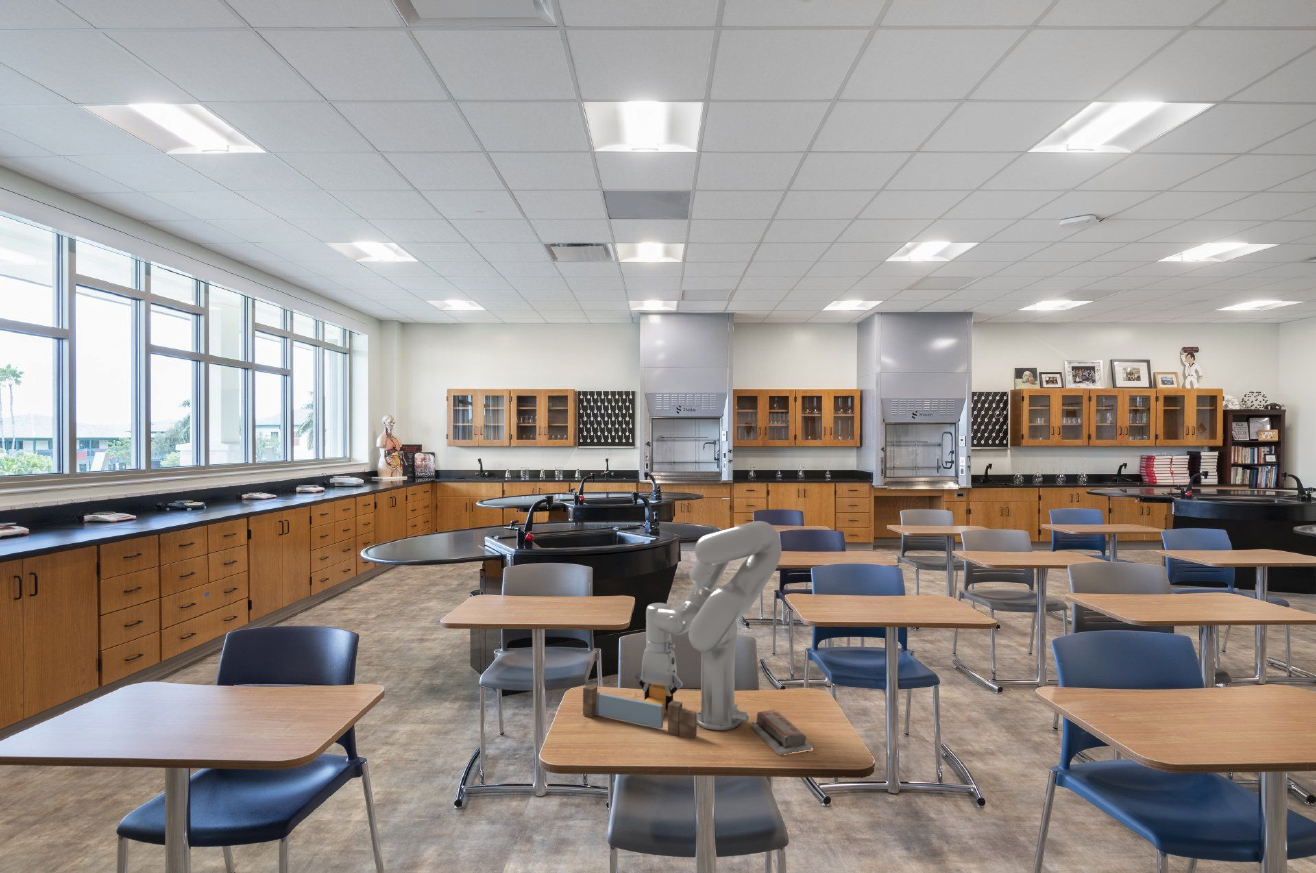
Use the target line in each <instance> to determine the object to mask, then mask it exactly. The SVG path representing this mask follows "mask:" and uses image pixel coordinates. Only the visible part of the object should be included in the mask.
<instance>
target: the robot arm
mask: <svg viewBox="0 0 1316 873" xmlns="http://www.w3.org/2000/svg"><path fill="white" fill-rule="evenodd" d="M694 552H695V553H694V554H695V556H696V560H695V562H694V564H693V566H692V567H691V569H690V571H689V579H690V580H691V582H692V586H691V589H690V592H689V594H688V595H687V597H686V599H685V601H684V603H682V604H680V605H678V606H676V607H672V608H671V606H670V605H669V604H667V603H665V602H653V603H650V604H648V605H647V607H646V610H645V620H646V622H645V629H646V630H645V639H646V640H645V641H646V642H645V645H646V646H645V648H644V650H643V655H642V661H641V670H640V671H639V672H638V673H637V674H636V675H635V676H634V678H635V680H636V681H637V682H638V684H639V686H640V687H641V688H642V691H643V693H644V700H645V699H647V698H648V697H649V686H651V685H652V684H654V685H659V686H665V689H666V692H667V696H666V710H667V711H668V704H669V703H670V702H671V701H674V694H675V693H676V692H677V691H678V690H679V689H680V688H682V686H684V683H683V681H682V680H681V679H680V677H679V676H678V674H677V673H678V669H677V660H676V654H675V651H674V649H675V648H676V644H675V643H672V642H673V641H672V635H674V636H679V635H680V636H681V635H683V634H685V633H688V634H687V635H688V639H689V642H690V645H691V646H692V647H693V648H694V650H696V651H698V652H701V660H700V661H701V662H700V663H701V665H700V669H701V670H700V672H701V673H700V690H701V691H700V698H701V699H700V711H699V712H697V725H699V727H701V728H703V729H706V730H707V729H708V730H710V731H711V730H713V731H729V730H732V729H735V728H737V727H738V726H739V725H740V723H749V719H750V718H749V717H750V716H749V715H748V712H747V711H741V710H740V709H738V708H739V706H738V704H735V667H736V666H735V664H736V662H735V661H736V657H735V656H736V644H737V636H738V624H737V620H738V619H740V618H741V617H743V616H744V615H746V614H747V613H748V612H749V611H750V610H751V608H752V606H753V605H754V604H755V602H756V600H757V599H758V598H759V596H760V594H761V593H762V592H763V591H764V588H765V586H766V585H767V583H768V582H769V581H770V579H771V577H772V576H773V575H774V573H775V571H776V569H777V568H778V566H779V563H780V561H781V557H782V541H781V538H780V536H779V533H778V531H777V530H776V528H775V527H774V526H773V525H772V524H770V523H769V522H767V521H762V520H757V521H756V520H755V521H752V522H748V523H743V524H740V525H737V526H734V527H731V528H727V529H723V530H721V531H715V532H714V531H713V532H710V533H708V534H707V533H706V534H704V535H703V536H702V535H701V537H699V539H698V540H697V542H696V544H695V547H694ZM744 558H746V559H745V560H744V561H743V562H742V564H740V567H739V568H738V570H737V571H736V573H735V574H734V576H733V577H732V578H731V580H730V581H729V582H727V583H725V584H723V585H721V586H719V587H717V588H716V586H717V585H718V583H719V581H720V579H721V578H722V576H723V574H724V572H725V570H726V568H727V567H728V565H729V563H730V562H733V561H735V560H740V559H744ZM673 683H675V686H674V685H673Z"/></svg>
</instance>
